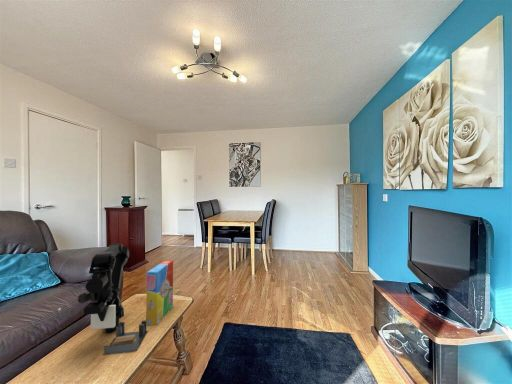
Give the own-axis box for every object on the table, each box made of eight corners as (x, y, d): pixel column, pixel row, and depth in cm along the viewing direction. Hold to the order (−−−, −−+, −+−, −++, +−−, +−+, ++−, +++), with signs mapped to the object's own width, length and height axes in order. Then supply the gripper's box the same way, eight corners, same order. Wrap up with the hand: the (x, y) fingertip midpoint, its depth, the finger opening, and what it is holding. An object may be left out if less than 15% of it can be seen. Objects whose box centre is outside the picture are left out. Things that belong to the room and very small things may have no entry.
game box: (156, 328, 110) (156, 272, 110) (145, 327, 110) (145, 272, 110) (173, 306, 131) (173, 260, 131) (163, 306, 131) (164, 260, 131)
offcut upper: (116, 341, 95) (116, 337, 95) (135, 338, 97) (135, 334, 97) (113, 346, 92) (113, 342, 92) (132, 343, 94) (132, 339, 94)
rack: (118, 335, 104) (118, 322, 104) (148, 332, 106) (148, 320, 106) (102, 357, 90) (102, 342, 90) (137, 353, 92) (137, 338, 92)
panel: (92, 327, 96) (92, 306, 96) (115, 325, 97) (115, 304, 97) (90, 329, 94) (90, 307, 94) (114, 327, 96) (114, 306, 96)
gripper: (95, 276, 104) (94, 310, 104) (67, 294, 85) (67, 335, 85) (121, 275, 105) (120, 308, 105) (99, 292, 87) (99, 332, 87)
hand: (103, 320), depth 96 cm, fingers closed on panel, 1 cm apart
